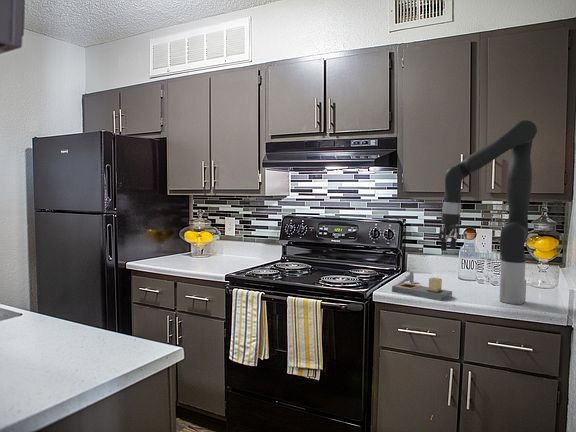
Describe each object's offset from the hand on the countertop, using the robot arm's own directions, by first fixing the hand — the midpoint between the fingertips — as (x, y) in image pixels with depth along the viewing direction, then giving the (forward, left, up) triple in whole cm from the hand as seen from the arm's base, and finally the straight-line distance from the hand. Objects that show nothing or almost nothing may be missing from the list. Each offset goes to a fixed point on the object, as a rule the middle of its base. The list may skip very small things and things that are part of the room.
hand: (448, 249), depth 204 cm
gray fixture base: (+10, +5, -21) cm, 23 cm away
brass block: (+3, +5, -21) cm, 22 cm away
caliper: (+25, -6, -21) cm, 34 cm away
